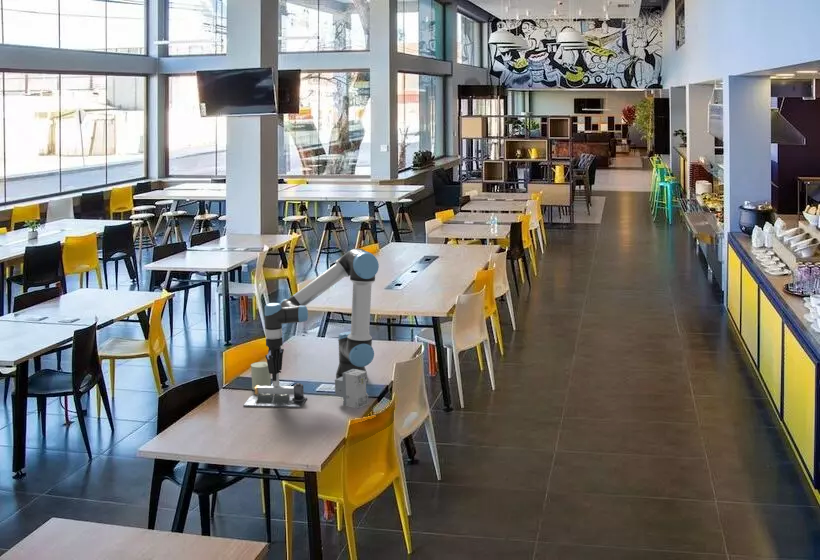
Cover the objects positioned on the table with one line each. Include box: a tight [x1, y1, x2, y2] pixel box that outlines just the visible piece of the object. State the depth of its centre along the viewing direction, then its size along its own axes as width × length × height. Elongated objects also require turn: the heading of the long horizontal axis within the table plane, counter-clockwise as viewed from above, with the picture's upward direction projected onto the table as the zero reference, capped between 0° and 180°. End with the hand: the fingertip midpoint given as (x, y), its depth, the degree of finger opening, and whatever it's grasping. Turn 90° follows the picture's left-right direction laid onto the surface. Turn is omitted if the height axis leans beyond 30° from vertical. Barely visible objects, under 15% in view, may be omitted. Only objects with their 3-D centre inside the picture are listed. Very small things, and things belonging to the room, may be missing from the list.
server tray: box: [242, 394, 308, 409], centre depth 422 cm, size 26×13×3 cm, turn 83°
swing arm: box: [254, 382, 305, 399], centre depth 425 cm, size 22×4×7 cm, turn 83°
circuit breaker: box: [334, 369, 369, 409], centre depth 419 cm, size 8×14×15 cm, turn 55°
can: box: [250, 361, 272, 391], centre depth 443 cm, size 9×9×12 cm
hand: (276, 386), depth 430 cm, fingers closed
